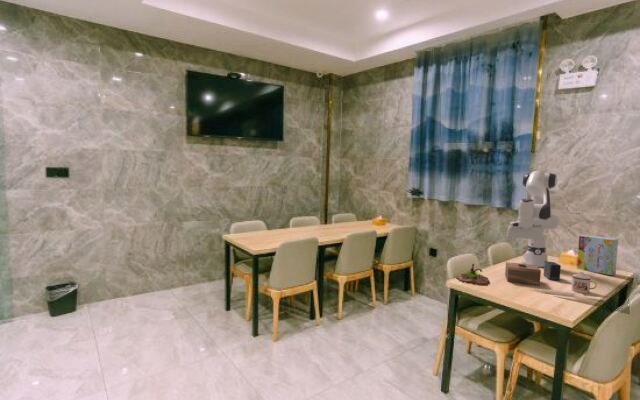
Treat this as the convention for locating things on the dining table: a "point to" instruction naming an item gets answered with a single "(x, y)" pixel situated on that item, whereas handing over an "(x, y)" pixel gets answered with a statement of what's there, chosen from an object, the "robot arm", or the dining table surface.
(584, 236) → the snack box
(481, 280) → the plant
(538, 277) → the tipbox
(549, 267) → the small box
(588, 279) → the teacup with lid
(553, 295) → the dining table surface
